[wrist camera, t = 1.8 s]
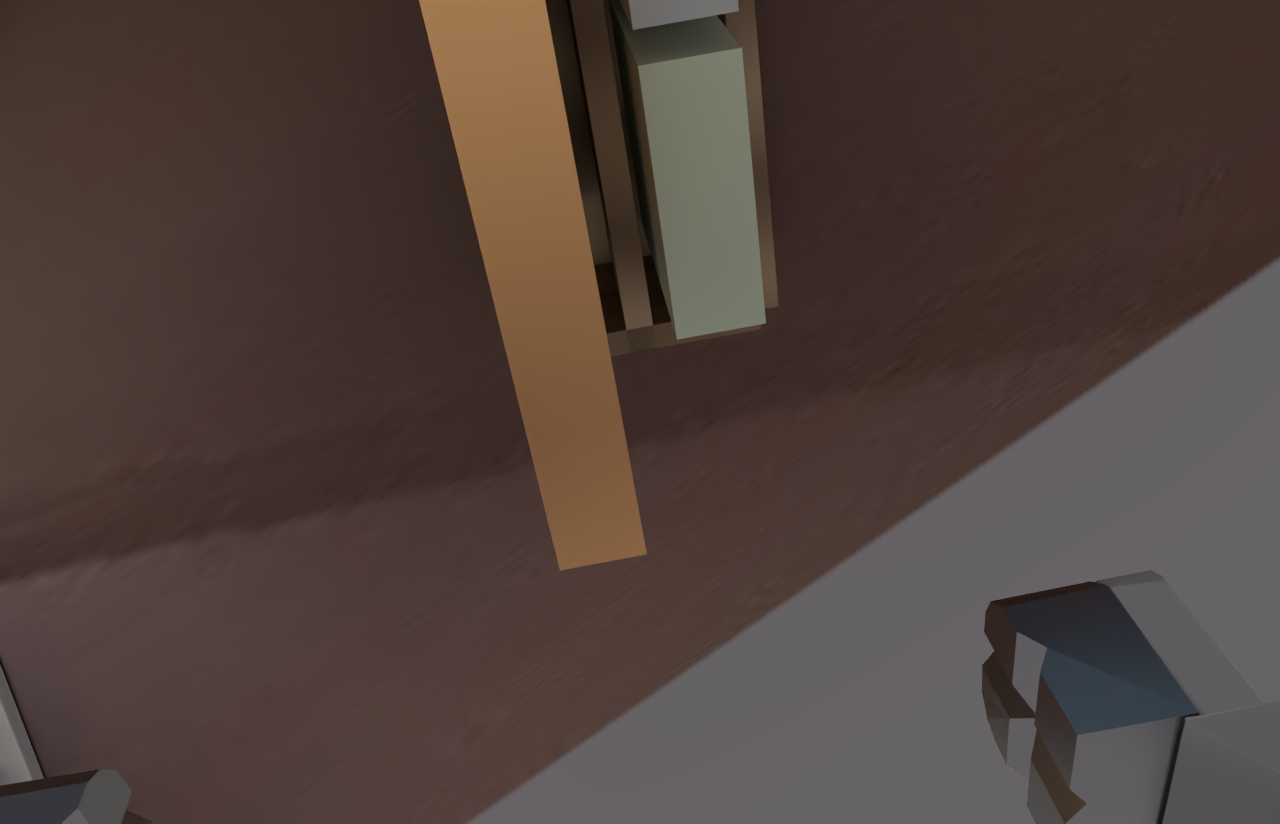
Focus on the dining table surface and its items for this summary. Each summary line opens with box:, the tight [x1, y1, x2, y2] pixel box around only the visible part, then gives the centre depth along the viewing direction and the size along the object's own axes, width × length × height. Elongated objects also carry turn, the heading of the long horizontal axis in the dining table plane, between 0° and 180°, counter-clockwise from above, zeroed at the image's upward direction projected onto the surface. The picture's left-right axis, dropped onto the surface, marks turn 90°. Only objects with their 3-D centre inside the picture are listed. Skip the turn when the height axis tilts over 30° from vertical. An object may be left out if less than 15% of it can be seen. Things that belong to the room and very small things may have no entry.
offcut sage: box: [608, 0, 766, 340], centre depth 36 cm, size 9×3×10 cm, turn 8°
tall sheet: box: [419, 0, 647, 570], centre depth 29 cm, size 16×2×22 cm, turn 8°
